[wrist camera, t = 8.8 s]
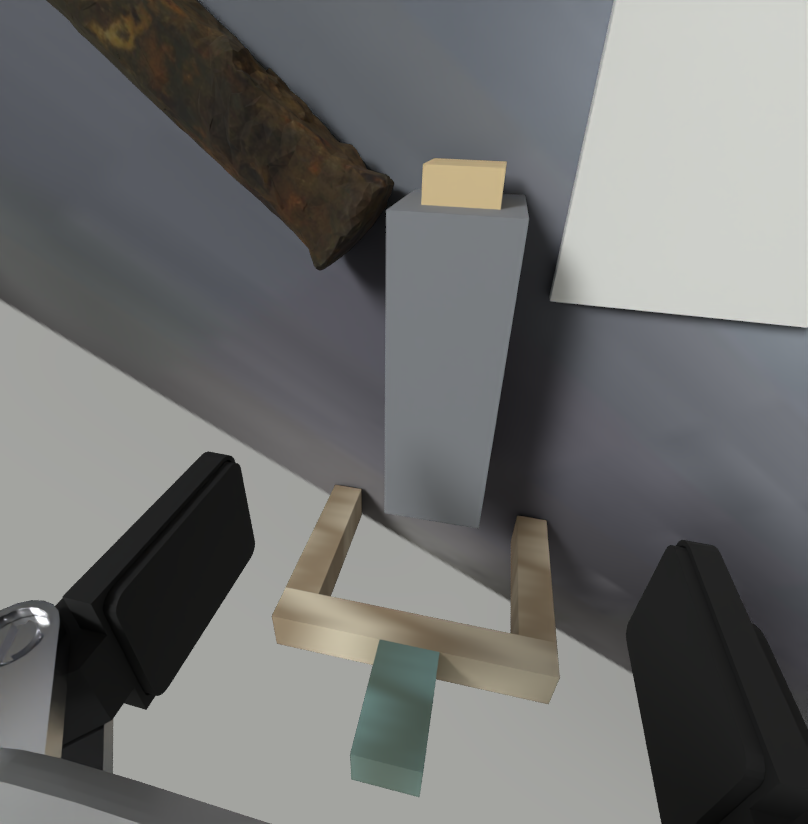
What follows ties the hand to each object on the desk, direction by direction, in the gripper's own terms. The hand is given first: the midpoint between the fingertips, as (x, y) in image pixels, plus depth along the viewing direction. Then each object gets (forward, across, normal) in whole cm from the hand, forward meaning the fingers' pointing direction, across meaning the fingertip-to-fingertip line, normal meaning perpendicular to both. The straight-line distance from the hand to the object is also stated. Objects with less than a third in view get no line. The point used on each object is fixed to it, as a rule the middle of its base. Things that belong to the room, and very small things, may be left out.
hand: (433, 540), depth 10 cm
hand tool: (+12, +12, -10) cm, 20 cm away
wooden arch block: (+12, +1, +10) cm, 16 cm away
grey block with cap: (+12, +1, 0) cm, 12 cm away
